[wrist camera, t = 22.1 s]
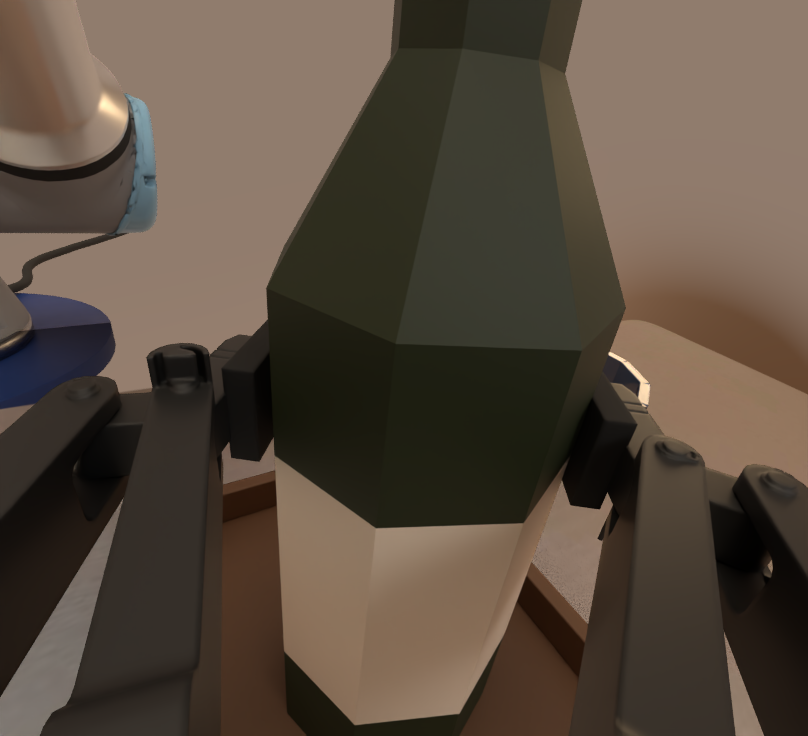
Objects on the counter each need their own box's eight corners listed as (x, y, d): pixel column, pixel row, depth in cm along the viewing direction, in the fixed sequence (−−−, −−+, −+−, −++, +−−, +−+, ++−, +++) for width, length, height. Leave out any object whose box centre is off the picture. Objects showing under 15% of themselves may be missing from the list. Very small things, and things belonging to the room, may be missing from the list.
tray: (156, 540, 23) (147, 505, 22) (409, 461, 30) (413, 431, 29) (268, 1540, 7) (260, 1624, 6) (736, 858, 15) (776, 830, 13)
